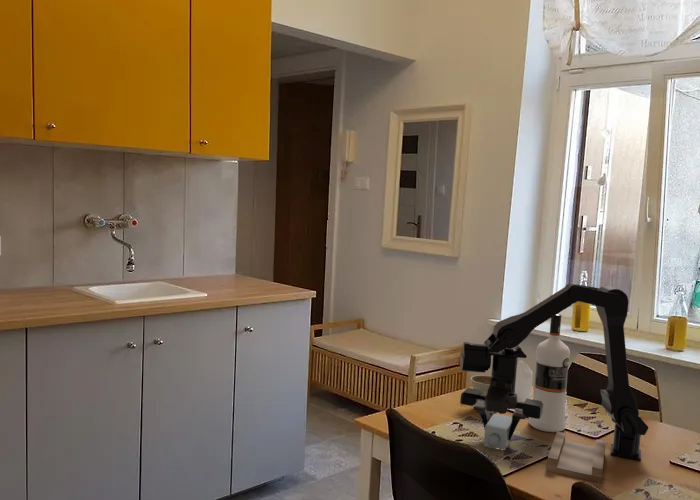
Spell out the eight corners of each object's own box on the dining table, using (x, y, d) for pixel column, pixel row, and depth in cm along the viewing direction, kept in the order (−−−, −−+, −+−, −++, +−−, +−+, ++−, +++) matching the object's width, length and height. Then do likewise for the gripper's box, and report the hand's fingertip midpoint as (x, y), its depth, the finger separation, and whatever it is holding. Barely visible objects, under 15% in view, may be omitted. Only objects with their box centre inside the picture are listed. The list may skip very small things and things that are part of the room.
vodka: (543, 418, 167) (553, 310, 165) (572, 430, 160) (583, 316, 157) (520, 423, 162) (530, 311, 160) (549, 435, 154) (560, 318, 152)
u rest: (555, 443, 149) (556, 431, 149) (604, 453, 145) (605, 441, 145) (546, 470, 133) (547, 457, 133) (601, 483, 128) (602, 469, 128)
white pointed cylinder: (537, 360, 182) (529, 364, 178) (533, 400, 183) (525, 404, 179) (518, 356, 186) (510, 359, 182) (514, 395, 187) (506, 399, 183)
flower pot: (461, 406, 174) (463, 376, 173) (488, 403, 178) (490, 374, 177) (481, 417, 165) (484, 386, 165) (509, 414, 169) (512, 383, 169)
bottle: (492, 433, 154) (494, 413, 154) (512, 437, 152) (514, 417, 151) (480, 450, 142) (482, 429, 142) (502, 455, 140) (504, 434, 140)
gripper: (456, 374, 143) (451, 439, 144) (539, 389, 135) (533, 458, 136) (468, 364, 153) (463, 425, 154) (545, 377, 145) (540, 441, 147)
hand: (498, 437), depth 148 cm, fingers closed on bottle, 5 cm apart
